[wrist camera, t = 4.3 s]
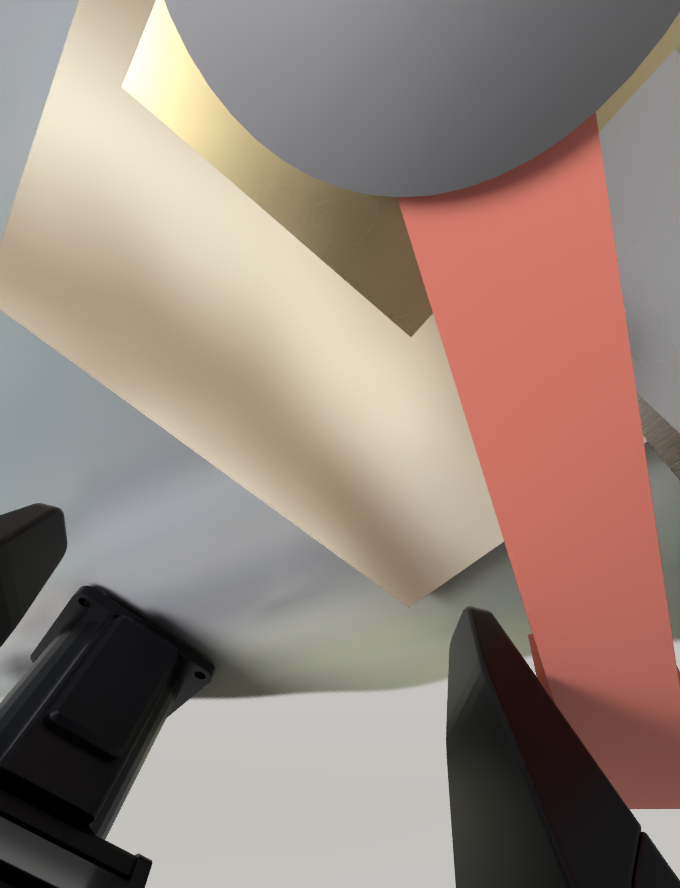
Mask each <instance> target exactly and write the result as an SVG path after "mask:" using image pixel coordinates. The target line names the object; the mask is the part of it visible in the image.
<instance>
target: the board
mask: <svg viewBox="0 0 680 888" xmlns="http://www.w3.org/2000/svg"><path fill="white" fill-rule="evenodd" d="M155 2H156V0H79V2H78V5H77V8H76V11H75V14H74V18H73V21H72V24H71V27H70V30H69V33H68V36H67V39H66V42H65V45H64V48H63V51H62V55H61V58H60V61H59V64H58V67H57V70H56V73H55V76H54V79H53V82H52V85H51V89H50V92H49V95H48V98H47V101H46V104H45V107H44V110H43V113H42V116H41V119H40V122H39V126H38V129H37V132H36V135H35V138H34V141H33V144H32V147H31V150H30V153H29V156H28V159H27V163H26V166H25V169H24V172H23V175H22V178H21V181H20V184H19V187H18V190H17V193H16V196H15V200H14V203H13V206H12V209H11V212H10V215H9V218H8V221H7V224H6V227H5V230H4V234H3V237H2V240H1V243H0V310H2V311H3V312H4V313H6V314H7V315H9V316H10V317H11V318H13V319H14V320H15V321H17V322H18V323H19V324H21V325H22V326H24V327H25V328H26V329H28V330H29V331H30V332H32V333H33V334H35V335H36V336H37V337H39V338H40V339H41V340H43V341H44V342H46V343H47V344H48V345H50V346H51V347H52V348H54V349H55V350H56V351H58V352H59V353H61V354H62V355H63V356H65V357H66V358H67V359H69V360H70V361H72V362H73V363H74V364H76V365H77V366H78V367H80V368H81V369H82V370H84V371H85V372H87V373H88V374H89V375H91V376H92V377H93V378H95V379H96V380H98V381H99V382H100V383H102V384H103V385H104V386H106V387H107V388H109V389H110V390H111V391H113V392H114V393H115V394H117V395H118V396H119V397H121V398H122V399H124V400H125V401H126V402H128V403H129V404H130V405H132V406H133V407H135V408H136V409H137V410H139V411H140V412H141V413H143V414H144V415H145V416H147V417H148V418H150V419H151V420H152V421H154V422H155V423H156V424H158V425H159V426H161V427H162V428H163V429H165V430H166V431H167V432H169V433H170V434H172V435H173V436H174V437H176V438H177V439H178V440H180V441H181V442H182V443H184V444H185V445H187V446H188V447H189V448H191V449H192V450H193V451H195V452H196V453H198V454H199V455H200V456H202V457H203V458H204V459H206V460H207V461H208V462H210V463H211V464H213V465H214V466H215V467H217V468H218V469H219V470H221V471H222V472H224V473H225V474H226V475H228V476H229V477H230V478H232V479H233V480H235V481H236V482H237V483H239V484H240V485H241V486H243V487H244V488H245V489H247V490H248V491H250V492H251V493H252V494H254V495H255V496H256V497H258V498H259V499H261V500H262V501H263V502H265V503H266V504H267V505H269V506H270V507H271V508H273V509H274V510H276V511H277V512H278V513H280V514H281V515H282V516H284V517H285V518H287V519H288V520H289V521H291V522H292V523H293V524H295V525H296V526H298V527H299V528H300V529H302V530H303V531H304V532H306V533H307V534H308V535H310V536H311V537H313V538H314V539H315V540H317V541H318V542H319V543H321V544H322V545H324V546H325V547H326V548H328V549H329V550H330V551H332V552H333V553H334V554H336V555H337V556H339V557H340V558H341V559H343V560H344V561H345V562H347V563H348V564H350V565H351V566H352V567H354V568H355V569H356V570H358V571H359V572H361V573H362V574H363V575H365V576H366V577H367V578H369V579H370V580H371V581H373V582H374V583H376V584H377V585H378V586H380V587H381V588H382V589H384V590H385V591H387V592H388V593H389V594H391V595H392V596H393V597H395V598H396V599H397V600H399V601H400V602H402V603H403V604H404V605H406V606H407V607H408V608H409V607H411V606H412V605H414V604H415V603H417V602H418V601H419V600H421V599H422V598H424V597H425V596H427V595H428V594H429V593H431V592H432V591H434V590H435V589H437V588H438V587H439V586H441V585H442V584H444V583H445V582H447V581H448V580H450V579H451V578H452V577H454V576H455V575H457V574H458V573H460V572H461V571H462V570H464V569H465V568H467V567H468V566H470V565H471V564H472V563H474V562H475V561H477V560H478V559H480V558H481V557H482V556H484V555H485V554H487V553H488V552H490V551H491V550H493V549H494V548H495V547H497V546H498V545H500V544H501V543H503V542H504V539H503V536H502V533H501V530H500V527H499V523H498V520H497V517H496V514H495V510H494V507H493V504H492V501H491V498H490V494H489V491H488V488H487V485H486V482H485V478H484V475H483V472H482V469H481V465H480V462H479V459H478V456H477V453H476V449H475V446H474V443H473V440H472V437H471V433H470V430H469V427H468V424H467V421H466V417H465V414H464V411H463V408H462V404H461V401H460V398H459V395H458V392H457V388H456V385H455V382H454V379H453V376H452V372H451V369H450V366H449V363H448V359H447V356H446V353H445V350H444V347H443V343H442V340H441V337H440V334H439V331H438V327H437V324H436V321H435V318H434V315H433V314H432V315H431V316H430V317H429V318H428V319H427V320H426V322H425V323H424V324H423V325H422V326H421V327H420V328H419V329H418V330H417V331H416V332H415V334H414V335H413V336H412V337H410V336H409V335H408V334H406V333H405V332H404V331H403V330H402V329H401V328H399V327H398V326H397V325H396V324H395V323H394V322H393V321H391V320H390V319H389V318H388V317H387V316H386V315H384V314H383V313H382V312H381V311H380V310H379V309H378V308H376V307H375V306H374V305H373V304H372V303H371V302H369V301H368V300H367V299H366V298H365V297H364V296H363V295H361V294H360V293H359V292H358V291H357V290H356V289H354V288H353V287H352V286H351V285H350V284H349V283H348V282H346V281H345V280H344V279H343V278H342V277H341V276H339V275H338V274H337V273H336V272H335V271H334V270H333V269H331V268H330V267H329V266H328V265H327V264H326V263H325V262H323V261H322V260H321V259H320V258H319V257H318V256H316V255H315V254H314V253H313V252H312V251H311V250H310V249H308V248H307V247H306V246H305V245H304V244H303V243H301V242H300V241H299V240H298V239H297V238H296V237H295V236H293V235H292V234H291V233H290V232H289V231H288V230H286V229H285V228H284V227H283V226H282V225H281V224H280V223H278V222H277V221H276V220H275V219H274V218H273V217H271V216H270V215H269V214H268V213H267V212H266V211H265V210H263V209H262V208H261V207H260V206H259V205H258V204H256V203H255V202H254V201H253V200H252V199H251V198H250V197H248V196H247V195H246V194H245V193H244V192H243V191H241V190H240V189H239V188H238V187H237V186H236V185H235V184H233V183H232V182H231V181H230V180H229V179H228V178H227V177H225V176H224V175H223V174H222V173H221V172H220V171H218V170H217V169H216V168H215V167H214V166H213V165H212V164H210V163H209V162H208V161H207V160H206V159H205V158H203V157H202V156H201V155H200V154H199V153H198V152H197V151H195V150H194V149H193V148H192V147H191V146H190V145H188V144H187V143H186V142H185V141H184V140H183V139H182V138H180V137H179V136H178V135H177V134H176V133H175V132H173V131H172V130H171V129H170V128H169V127H168V126H167V125H165V124H164V123H163V122H162V121H161V120H160V119H158V118H157V117H156V116H155V115H154V114H153V113H152V112H150V111H149V110H148V109H147V108H146V107H145V106H144V105H142V104H141V103H140V102H139V101H138V100H137V99H135V98H134V97H133V96H132V95H131V94H130V93H129V92H127V91H126V90H125V89H124V88H123V87H122V85H123V83H124V80H125V78H126V75H127V73H128V70H129V68H130V65H131V63H132V60H133V57H134V55H135V52H136V50H137V47H138V45H139V42H140V40H141V37H142V35H143V32H144V30H145V27H146V25H147V22H148V20H149V17H150V14H151V12H152V9H153V7H154V4H155ZM676 51H677V52H678V53H679V54H680V44H679V45H678V47H677V48H676ZM643 440H644V444H645V443H646V442H647V440H646V438H645V437H644V436H643Z"/></svg>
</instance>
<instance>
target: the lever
mask: <svg viewBox="0 0 680 888" xmlns="http://www.w3.org/2000/svg"><path fill="white" fill-rule="evenodd" d="M164 1H165V4H166V6H167V9H168V12H169V14H170V16H171V19H172V21H173V23H174V25H175V27H176V29H177V31H178V33H179V35H180V37H181V39H182V41H183V43H184V45H185V47H186V49H187V51H188V53H189V55H190V56H191V58H192V60H193V61H194V63H195V65H196V66H197V68H198V69H199V71H200V73H201V74H202V76H203V77H204V79H205V81H206V82H207V84H208V85H209V87H210V88H211V89H212V91H213V92H214V93H215V95H216V96H217V97H218V98H219V100H220V101H221V102H222V103H223V105H224V106H225V107H226V109H227V110H228V111H229V112H230V114H231V115H232V116H233V117H234V118H235V119H236V120H237V121H238V122H239V123H240V124H241V125H242V126H243V127H244V128H245V129H246V130H247V131H248V132H249V133H250V134H251V135H252V136H253V137H254V138H255V139H256V140H257V141H258V142H260V143H261V144H262V145H264V146H265V147H266V148H267V149H269V150H270V151H271V152H273V153H274V154H275V155H276V156H278V157H279V158H280V159H282V160H283V161H285V162H286V163H288V164H290V165H292V166H293V167H295V168H297V169H299V170H300V171H302V172H304V173H305V174H307V175H309V176H311V177H313V178H316V179H318V180H321V181H323V182H326V183H328V184H331V185H333V186H336V187H338V188H342V189H347V190H351V191H355V192H359V193H363V194H368V195H377V196H389V197H397V199H398V202H399V205H400V209H401V212H402V215H403V218H404V221H405V225H406V228H407V231H408V234H409V237H410V241H411V244H412V247H413V250H414V253H415V257H416V260H417V263H418V266H419V270H420V273H421V276H422V279H423V282H424V286H425V289H426V292H427V295H428V298H429V302H430V305H431V308H432V311H433V315H434V318H435V321H436V324H437V327H438V331H439V334H440V337H441V340H442V343H443V347H444V350H445V353H446V356H447V359H448V363H449V366H450V369H451V372H452V376H453V379H454V382H455V385H456V388H457V392H458V395H459V398H460V401H461V404H462V408H463V411H464V414H465V417H466V421H467V424H468V427H469V430H470V433H471V437H472V440H473V443H474V446H475V449H476V453H477V456H478V459H479V462H480V465H481V469H482V472H483V475H484V478H485V482H486V485H487V488H488V491H489V494H490V498H491V501H492V504H493V507H494V510H495V514H496V517H497V520H498V523H499V527H500V530H501V533H502V536H503V539H504V543H505V546H506V549H507V552H508V555H509V559H510V562H511V565H512V568H513V572H514V575H515V578H516V581H517V584H518V588H519V591H520V594H521V597H522V600H523V604H524V607H525V610H526V613H527V616H528V620H529V623H530V626H531V629H532V633H533V634H530V635H528V636H529V641H530V646H531V651H532V656H533V661H534V666H535V671H536V676H537V678H538V680H539V681H540V683H541V684H542V685H543V687H544V688H545V690H546V691H547V693H548V694H549V695H550V697H551V698H552V700H553V701H554V703H555V704H556V705H557V707H558V708H559V710H560V711H561V713H562V714H563V715H564V717H565V718H566V720H567V721H568V722H569V724H570V725H571V727H572V728H573V730H574V731H575V732H576V734H577V735H578V737H579V738H580V740H581V741H582V742H583V744H584V745H585V747H586V748H587V750H588V751H589V752H590V754H591V755H592V757H593V758H594V760H595V761H596V762H597V764H598V765H599V767H600V768H601V770H602V771H603V772H604V774H605V775H606V777H607V778H608V780H609V781H610V782H611V784H612V785H613V787H614V788H615V790H616V791H617V792H618V794H619V795H620V797H621V798H622V800H623V801H624V802H625V804H626V805H627V807H628V808H629V809H680V672H679V669H678V667H677V665H676V660H675V653H674V646H673V639H672V632H671V625H670V618H669V612H668V605H667V598H666V591H665V584H664V577H663V570H662V563H661V557H660V550H659V543H658V536H657V529H656V522H655V515H654V508H653V502H652V495H651V488H650V481H649V474H648V467H647V460H646V454H645V447H644V440H643V433H642V426H641V419H640V412H639V405H638V399H637V392H636V385H635V378H634V371H633V364H632V357H631V350H630V344H629V337H628V330H627V323H626V316H625V309H624V302H623V296H622V289H621V282H620V275H619V268H618V261H617V254H616V247H615V241H614V234H613V227H612V220H611V213H610V206H609V199H608V192H607V186H606V179H605V172H604V165H603V158H602V151H601V144H600V138H599V131H598V124H597V117H596V111H597V110H598V109H599V108H600V107H601V106H602V105H603V104H604V103H605V102H606V101H607V100H608V99H609V98H610V97H611V96H612V95H613V94H614V93H615V92H616V91H617V90H618V89H619V88H620V87H621V86H622V85H623V84H624V83H625V82H626V81H627V80H628V79H629V78H630V77H631V76H632V75H633V73H634V72H635V71H636V70H637V68H638V67H639V66H640V65H641V63H642V62H643V61H644V60H645V58H646V57H647V56H648V55H649V53H650V52H651V51H652V50H653V48H654V47H655V46H656V45H657V43H658V42H659V41H660V40H661V39H662V37H663V36H664V35H665V33H666V32H667V30H668V29H669V27H670V26H671V24H672V23H673V21H674V20H675V18H676V17H677V15H678V14H679V12H680V0H164Z"/></svg>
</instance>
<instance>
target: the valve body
mask: <svg viewBox="0 0 680 888" xmlns="http://www.w3.org/2000/svg"><path fill="white" fill-rule="evenodd" d="M679 44H680V12H679V14H678V15H677V17H676V18H675V20H674V21H673V23H672V24H671V26H670V27H669V29H668V30H667V32H666V33H665V35H664V36H663V37H662V39H661V40H660V41H659V42H658V43H657V45H656V46H655V47H654V48H653V50H652V51H651V52H650V53H649V55H648V56H647V57H646V58H645V60H644V61H643V62H642V63H641V65H640V66H639V67H638V68H637V70H636V71H635V72H634V73H633V75H632V76H631V77H630V78H629V79H628V80H627V81H626V82H625V83H624V84H623V85H622V86H621V87H620V88H619V89H618V90H617V91H616V92H615V93H614V94H613V95H612V96H611V97H610V98H609V99H608V100H607V101H606V102H605V103H604V104H603V105H602V106H601V107H600V108H599V109H598V110H597V111H596V117H597V124H598V131H599V138H600V144H601V151H602V158H603V165H604V172H605V179H606V186H607V192H608V199H609V206H610V213H611V220H612V227H613V234H614V241H615V247H616V254H617V261H618V268H619V275H620V282H621V289H622V296H623V302H624V309H625V316H626V323H627V330H628V337H629V344H630V350H631V357H632V364H633V371H634V378H635V385H636V392H637V399H638V405H639V412H640V419H641V426H642V433H643V436H644V437H645V438H646V440H647V441H648V442H649V443H650V444H651V446H652V447H653V448H654V449H655V451H656V452H657V453H658V454H659V455H660V457H661V458H662V459H663V460H664V462H665V463H666V464H667V465H668V466H669V468H670V469H671V470H672V471H673V473H674V474H675V475H676V476H677V477H678V479H679V480H680V54H679V53H678V52H677V51H676V48H677V47H678V45H679ZM122 87H123V88H124V89H125V90H126V91H127V92H129V93H130V94H131V95H132V96H133V97H134V98H135V99H137V100H138V101H139V102H140V103H141V104H142V105H144V106H145V107H146V108H147V109H148V110H149V111H150V112H152V113H153V114H154V115H155V116H156V117H157V118H158V119H160V120H161V121H162V122H163V123H164V124H165V125H167V126H168V127H169V128H170V129H171V130H172V131H173V132H175V133H176V134H177V135H178V136H179V137H180V138H182V139H183V140H184V141H185V142H186V143H187V144H188V145H190V146H191V147H192V148H193V149H194V150H195V151H197V152H198V153H199V154H200V155H201V156H202V157H203V158H205V159H206V160H207V161H208V162H209V163H210V164H212V165H213V166H214V167H215V168H216V169H217V170H218V171H220V172H221V173H222V174H223V175H224V176H225V177H227V178H228V179H229V180H230V181H231V182H232V183H233V184H235V185H236V186H237V187H238V188H239V189H240V190H241V191H243V192H244V193H245V194H246V195H247V196H248V197H250V198H251V199H252V200H253V201H254V202H255V203H256V204H258V205H259V206H260V207H261V208H262V209H263V210H265V211H266V212H267V213H268V214H269V215H270V216H271V217H273V218H274V219H275V220H276V221H277V222H278V223H280V224H281V225H282V226H283V227H284V228H285V229H286V230H288V231H289V232H290V233H291V234H292V235H293V236H295V237H296V238H297V239H298V240H299V241H300V242H301V243H303V244H304V245H305V246H306V247H307V248H308V249H310V250H311V251H312V252H313V253H314V254H315V255H316V256H318V257H319V258H320V259H321V260H322V261H323V262H325V263H326V264H327V265H328V266H329V267H330V268H331V269H333V270H334V271H335V272H336V273H337V274H338V275H339V276H341V277H342V278H343V279H344V280H345V281H346V282H348V283H349V284H350V285H351V286H352V287H353V288H354V289H356V290H357V291H358V292H359V293H360V294H361V295H363V296H364V297H365V298H366V299H367V300H368V301H369V302H371V303H372V304H373V305H374V306H375V307H376V308H378V309H379V310H380V311H381V312H382V313H383V314H384V315H386V316H387V317H388V318H389V319H390V320H391V321H393V322H394V323H395V324H396V325H397V326H398V327H399V328H401V329H402V330H403V331H404V332H405V333H406V334H408V335H409V336H410V337H412V336H413V335H414V334H415V332H416V331H417V330H418V329H419V328H420V327H421V326H422V325H423V324H424V323H425V322H426V320H427V319H428V318H429V317H430V316H431V315H432V314H433V311H432V308H431V305H430V302H429V298H428V295H427V292H426V289H425V286H424V282H423V279H422V276H421V273H420V270H419V266H418V263H417V260H416V257H415V253H414V250H413V247H412V244H411V241H410V237H409V234H408V231H407V228H406V225H405V221H404V218H403V215H402V212H401V209H400V205H399V202H398V199H397V197H389V196H377V195H368V194H363V193H359V192H355V191H351V190H347V189H342V188H338V187H336V186H333V185H331V184H328V183H326V182H323V181H321V180H318V179H316V178H313V177H311V176H309V175H307V174H305V173H304V172H302V171H300V170H299V169H297V168H295V167H293V166H292V165H290V164H288V163H286V162H285V161H283V160H282V159H280V158H279V157H278V156H276V155H275V154H274V153H273V152H271V151H270V150H269V149H267V148H266V147H265V146H264V145H262V144H261V143H260V142H258V141H257V140H256V139H255V138H254V137H253V136H252V135H251V134H250V133H249V132H248V131H247V130H246V129H245V128H244V127H243V126H242V125H241V124H240V123H239V122H238V121H237V120H236V119H235V118H234V117H233V116H232V115H231V114H230V112H229V111H228V110H227V109H226V107H225V106H224V105H223V103H222V102H221V101H220V100H219V98H218V97H217V96H216V95H215V93H214V92H213V91H212V89H211V88H210V87H209V85H208V84H207V82H206V81H205V79H204V77H203V76H202V74H201V73H200V71H199V69H198V68H197V66H196V65H195V63H194V61H193V60H192V58H191V56H190V55H189V53H188V51H187V49H186V47H185V45H184V43H183V41H182V39H181V37H180V35H179V33H178V31H177V29H176V27H175V25H174V23H173V21H172V19H171V16H170V14H169V12H168V9H167V6H166V4H165V1H164V0H156V2H155V4H154V7H153V9H152V12H151V14H150V17H149V20H148V22H147V25H146V27H145V30H144V32H143V35H142V37H141V40H140V42H139V45H138V47H137V50H136V52H135V55H134V57H133V60H132V63H131V65H130V68H129V70H128V73H127V75H126V78H125V80H124V83H123V85H122Z"/></svg>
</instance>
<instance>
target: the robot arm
mask: <svg viewBox="0 0 680 888" xmlns="http://www.w3.org/2000/svg"><path fill="white" fill-rule="evenodd" d="M66 549H67V536H66V528H65V519H64V513H63V511H62V510H61V509H60V508H58V507H54V506H50V505H46V504H41V503H37V504H33V505H30V506H27V507H24V508H21V509H18V510H15V511H12V512H9V513H6V514H3V515H0V647H1V646H2V645H3V643H4V642H5V641H6V639H7V638H8V637H9V636H10V634H11V633H12V632H13V630H14V629H15V628H16V626H17V625H18V623H19V622H20V621H21V619H22V618H23V616H24V615H25V613H26V612H27V610H28V609H29V607H30V606H31V604H32V603H33V601H34V600H35V598H36V597H37V595H38V594H39V592H40V591H41V589H42V588H43V586H44V585H45V583H46V582H47V580H48V579H49V577H50V576H51V574H52V573H53V571H54V570H55V569H56V567H57V566H58V564H59V563H60V561H61V560H62V558H63V556H64V554H65V552H66ZM30 658H31V661H32V662H33V664H32V666H31V667H30V668H29V669H28V670H27V672H26V673H25V674H24V675H23V676H22V678H21V679H20V680H19V681H18V682H17V684H16V685H15V686H14V687H13V688H12V690H11V691H10V692H9V693H8V694H7V696H6V697H5V698H4V699H3V700H2V702H1V703H0V888H145V884H146V882H147V878H148V875H149V872H150V869H151V866H152V860H149V859H148V858H146V857H144V856H142V855H140V854H136V855H135V856H134V855H132V854H130V853H129V852H127V851H125V850H123V849H121V848H119V847H117V846H115V845H113V844H111V843H109V842H108V841H105V839H106V837H107V835H108V833H109V831H110V829H111V827H112V825H113V823H114V821H115V819H116V817H117V815H118V813H119V811H120V809H121V807H122V805H123V803H124V801H125V799H126V797H127V795H128V793H129V791H130V789H131V787H132V785H133V783H134V781H135V779H136V777H137V775H138V773H139V771H140V769H141V767H142V765H143V763H144V761H145V759H146V757H147V755H148V753H149V751H150V749H151V747H152V745H153V743H154V741H155V739H156V737H157V735H158V734H159V731H160V730H161V727H162V725H163V724H164V722H165V720H166V718H167V717H168V716H169V715H171V714H172V713H173V712H174V711H175V710H177V708H179V707H180V706H181V705H183V704H184V703H185V702H186V701H187V700H189V699H190V698H191V697H192V696H193V695H195V694H196V693H197V692H198V691H199V690H201V689H202V688H203V687H204V686H205V685H207V684H208V683H209V682H210V681H211V679H212V677H213V675H214V673H215V667H214V665H213V664H212V663H210V662H209V661H207V660H206V659H204V658H203V657H201V656H200V655H198V654H196V653H195V652H193V651H192V650H190V649H189V648H187V647H185V646H184V645H182V644H181V643H179V642H178V641H176V640H175V639H173V638H171V637H170V636H168V635H167V634H165V633H164V632H162V631H160V630H159V629H157V628H156V627H154V626H153V625H151V624H149V623H148V622H146V621H145V620H143V619H142V618H140V617H139V616H137V615H135V614H134V613H132V612H131V611H129V610H128V609H126V608H124V607H123V606H121V605H120V604H118V603H117V602H115V601H113V600H112V599H110V598H109V597H107V596H106V595H104V594H103V593H101V592H99V591H98V590H96V589H94V588H92V587H90V586H82V587H81V588H80V589H79V590H78V591H77V592H76V593H75V594H74V595H73V597H72V598H71V600H70V601H69V602H68V604H67V605H66V607H65V608H64V609H63V611H62V612H61V614H60V615H59V616H58V618H57V619H56V621H55V622H54V624H53V625H52V626H51V628H50V629H49V631H48V632H47V633H46V635H45V636H44V638H43V639H42V640H41V642H40V643H39V645H38V646H37V648H36V649H35V650H34V652H33V653H32V655H31V657H30ZM447 701H448V702H447V727H446V729H447V732H446V745H447V746H446V748H447V765H448V781H449V795H450V808H451V823H452V837H453V852H454V866H455V880H456V888H680V880H679V879H678V877H677V876H676V875H675V873H674V872H673V870H672V869H671V868H670V866H669V865H668V863H667V862H666V861H665V859H664V858H663V857H662V855H661V854H660V852H659V851H658V849H657V848H656V846H655V845H654V843H653V842H652V841H651V839H650V838H649V836H648V835H647V834H646V833H645V832H641V826H640V824H639V823H638V821H637V820H636V818H635V817H634V815H633V814H632V812H631V811H630V810H629V808H628V807H627V805H626V804H625V802H624V801H623V800H622V798H621V797H620V795H619V794H618V792H617V791H616V790H615V788H614V787H613V785H612V784H611V782H610V781H609V780H608V778H607V777H606V775H605V774H604V772H603V771H602V770H601V768H600V767H599V765H598V764H597V762H596V761H595V760H594V758H593V757H592V755H591V754H590V752H589V751H588V750H587V748H586V747H585V745H584V744H583V742H582V741H581V740H580V738H579V737H578V735H577V734H576V732H575V731H574V730H573V728H572V727H571V725H570V724H569V722H568V721H567V720H566V718H565V717H564V715H563V714H562V713H561V711H560V710H559V708H558V707H557V705H556V704H555V703H554V701H553V700H552V698H551V697H550V695H549V694H548V693H547V691H546V690H545V688H544V687H543V685H542V684H541V683H540V681H539V680H538V678H537V677H536V675H535V674H534V673H533V671H532V670H531V668H530V667H529V665H528V664H527V663H526V661H525V660H524V658H523V657H522V655H521V654H520V653H519V651H518V650H517V648H516V647H515V645H514V644H513V643H512V641H511V640H510V638H509V637H508V635H507V634H506V633H505V631H504V630H503V628H502V627H501V625H500V624H499V623H498V621H497V620H496V618H495V617H494V615H493V614H492V613H491V612H489V611H487V610H483V609H479V608H475V607H471V606H469V607H466V608H465V609H464V610H463V612H462V615H461V617H460V620H459V622H458V624H457V627H456V629H455V632H454V634H453V636H452V639H451V643H450V650H449V674H448V700H447Z"/></svg>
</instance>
